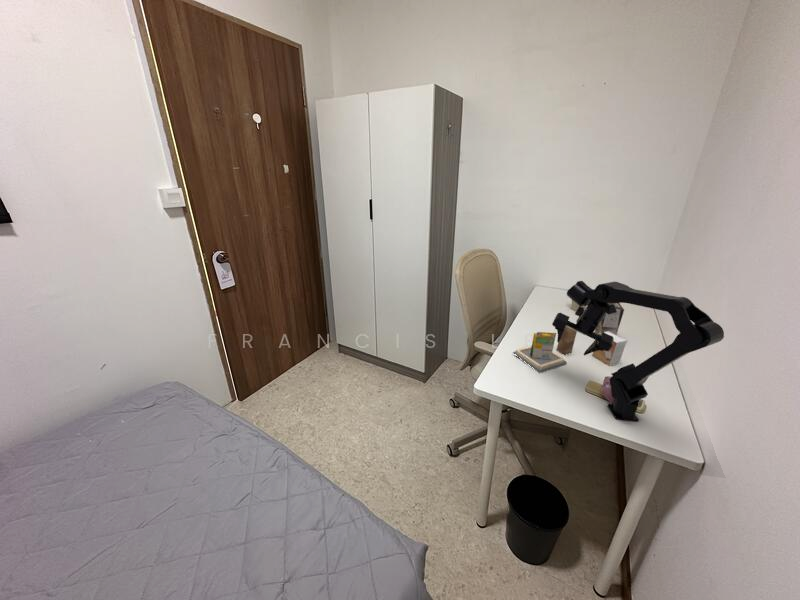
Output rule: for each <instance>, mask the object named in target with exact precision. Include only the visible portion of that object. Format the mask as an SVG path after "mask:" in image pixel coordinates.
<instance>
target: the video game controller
mask: <svg viewBox="0 0 800 600" xmlns="http://www.w3.org/2000/svg"><path fill="white" fill-rule="evenodd" d="M610 378H611V376H604V379H603V380H602V381H603V382H602V384H601V385H600V387H601V388H600V389H601V393H602V395H603V396H604V397H605V399H607V401H608V402H610V404H613V402H614V399H615V398H613V397H612V393H611V385H610V380H609V379H610Z"/></svg>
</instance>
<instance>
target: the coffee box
mask: <svg viewBox="0 0 800 600" xmlns="http://www.w3.org/2000/svg"><path fill="white" fill-rule="evenodd" d="M609 304H610V305H613V304H614V305H615V308H616V311H617V312H616V313H613V314H607V313H606V315H605V316H604V318H603V319H602V321H601V322H600V323H599V325H598V326H597V328H596V329H595V330H594V333H597V334H599V333H601V332H608V331H609V332H611V333H613V334H615V335H617V336H618V331H619V328H620V325H621V321H622V318H623V315H624V312H625V309H624V307H623V306H622V305H621V303H609Z"/></svg>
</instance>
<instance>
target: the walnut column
mask: <svg viewBox="0 0 800 600" xmlns="http://www.w3.org/2000/svg"><path fill="white" fill-rule="evenodd" d="M577 333H578V332H577V331H575V330H573V329H571V328H568V327H566V326H565V329H564V331H563V334H562V336H561V339H560V341H559V342H557V346H556V347H557V348H556V351H557V352H558V351H559V352H558V353H560V352H561V353H560V354H561V355H563V354H564V356H566V354H567V355H570V354H572V351H573V348H574V344H575V340H576V336H577ZM569 353H570V354H569Z"/></svg>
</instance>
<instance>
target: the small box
mask: <svg viewBox="0 0 800 600" xmlns="http://www.w3.org/2000/svg"><path fill="white" fill-rule="evenodd" d="M604 333H606V334H608V335H610V336H613V338H614V341H613V346H612V348H611V349H610V350H609V351H605V350H603V351H601V350H598V351H595V352H592V353H591V354H592V357H594V358H595V359H598V360H599V361H601V362H602V363H604V364H605V365H607V366H608V367H611V366H615V365H618V364H620V362H621V360H622V356H623V353H624V351H625V348H626V345H627V342H628V341H627V339H624V338H622V337H620V336H618V334H617V335H615V334H613V333H611V332H609V331H608V332H604ZM600 334H601V333H599V335H600Z"/></svg>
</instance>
